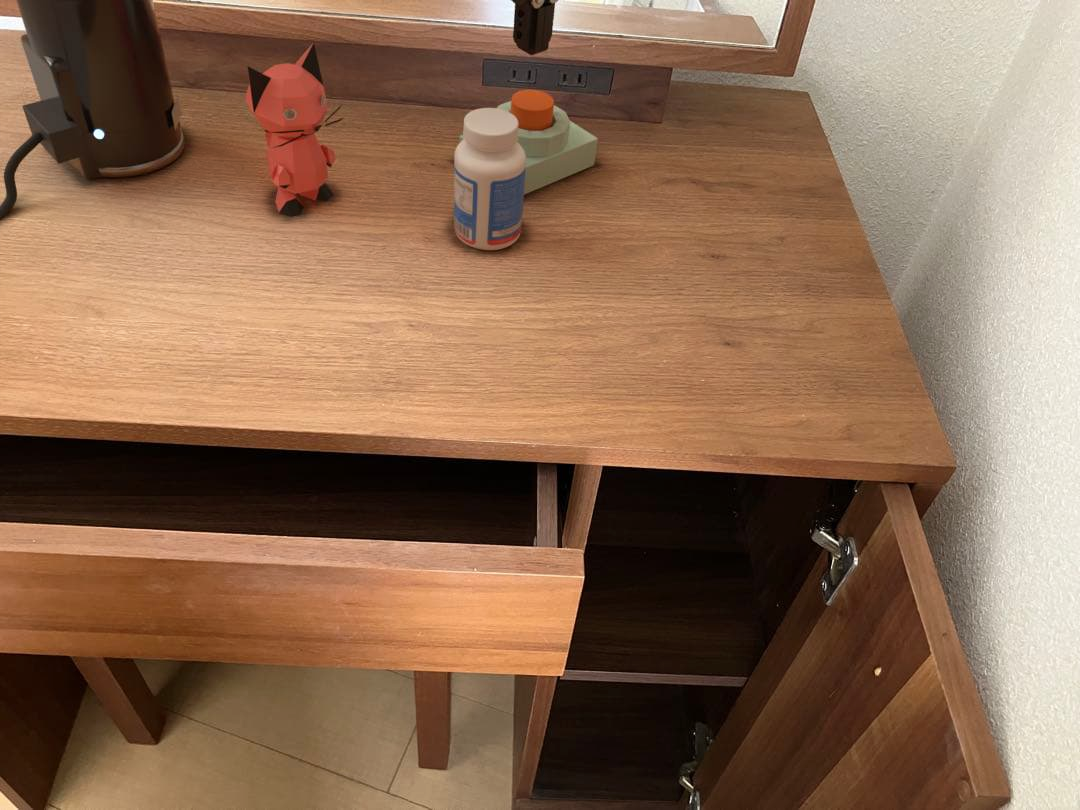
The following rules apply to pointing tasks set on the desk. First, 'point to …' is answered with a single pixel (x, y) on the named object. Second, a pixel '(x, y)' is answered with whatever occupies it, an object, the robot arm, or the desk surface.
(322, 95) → the cat figurine
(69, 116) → the robot arm
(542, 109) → the orange cylinder plug
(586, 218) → the desk surface
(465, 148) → the pill bottle
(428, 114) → the desk surface
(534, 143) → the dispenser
